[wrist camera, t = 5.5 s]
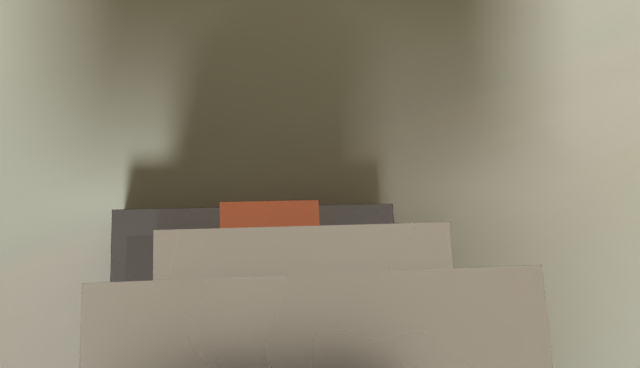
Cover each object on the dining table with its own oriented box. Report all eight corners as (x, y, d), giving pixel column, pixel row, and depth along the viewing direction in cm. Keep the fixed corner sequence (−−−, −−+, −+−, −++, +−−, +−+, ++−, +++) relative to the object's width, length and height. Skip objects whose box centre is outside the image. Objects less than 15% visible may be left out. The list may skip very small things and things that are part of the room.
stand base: (395, 474, 21) (500, 596, 13) (117, 502, 19) (30, 661, 11) (378, 210, 23) (462, 166, 14) (123, 216, 21) (52, 171, 13)
